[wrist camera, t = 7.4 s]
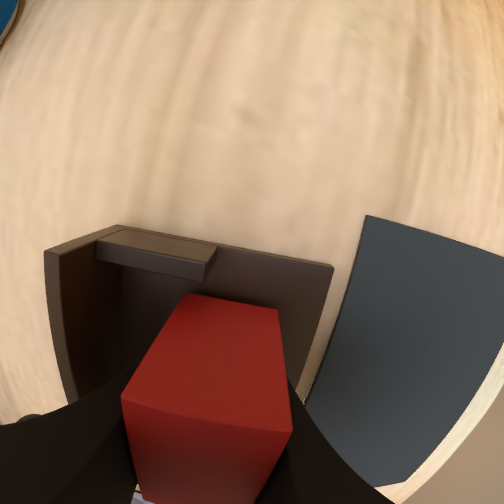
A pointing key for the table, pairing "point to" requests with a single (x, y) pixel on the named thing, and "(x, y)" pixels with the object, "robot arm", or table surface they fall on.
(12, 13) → the beverage can
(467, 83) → the table surface
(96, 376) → the dark brown open box
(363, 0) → the table surface
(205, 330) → the packet red
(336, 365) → the mat
